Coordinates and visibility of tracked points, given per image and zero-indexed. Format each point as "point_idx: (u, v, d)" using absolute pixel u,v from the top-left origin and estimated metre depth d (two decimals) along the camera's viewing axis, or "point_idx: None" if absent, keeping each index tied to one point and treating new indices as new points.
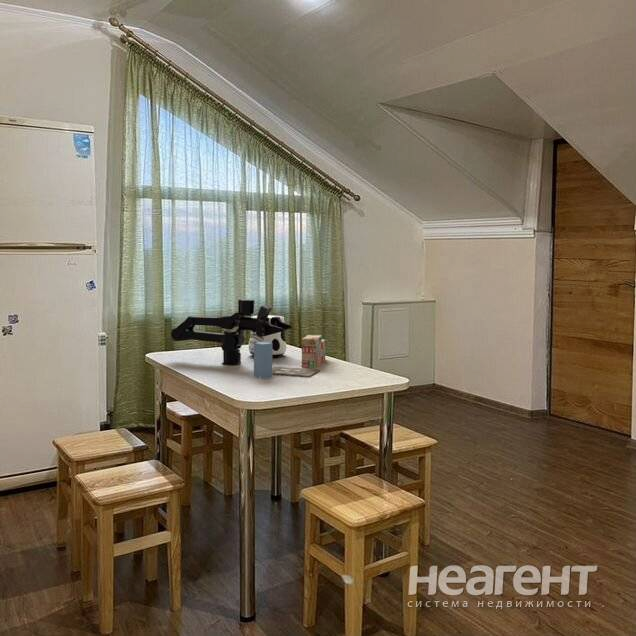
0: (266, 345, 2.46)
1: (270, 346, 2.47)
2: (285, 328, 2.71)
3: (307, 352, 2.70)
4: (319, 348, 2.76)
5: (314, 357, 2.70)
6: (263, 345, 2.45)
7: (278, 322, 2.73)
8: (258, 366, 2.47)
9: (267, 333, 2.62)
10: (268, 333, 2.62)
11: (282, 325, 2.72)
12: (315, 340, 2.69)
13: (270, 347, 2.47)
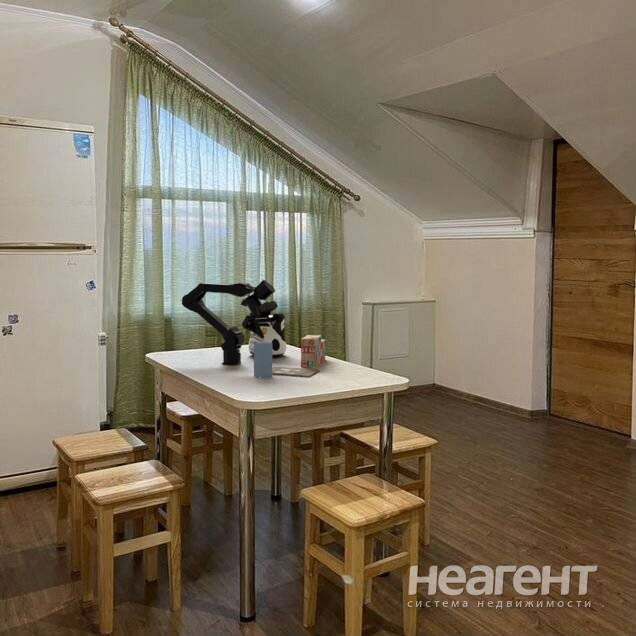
0: (266, 345, 2.46)
1: (270, 346, 2.47)
2: (277, 332, 2.67)
3: (307, 352, 2.70)
4: (318, 348, 2.76)
5: (313, 357, 2.70)
6: (263, 345, 2.45)
7: (276, 322, 2.67)
8: (258, 366, 2.47)
9: (251, 329, 2.61)
10: (252, 329, 2.61)
11: (277, 327, 2.67)
12: (314, 340, 2.69)
13: (270, 347, 2.47)
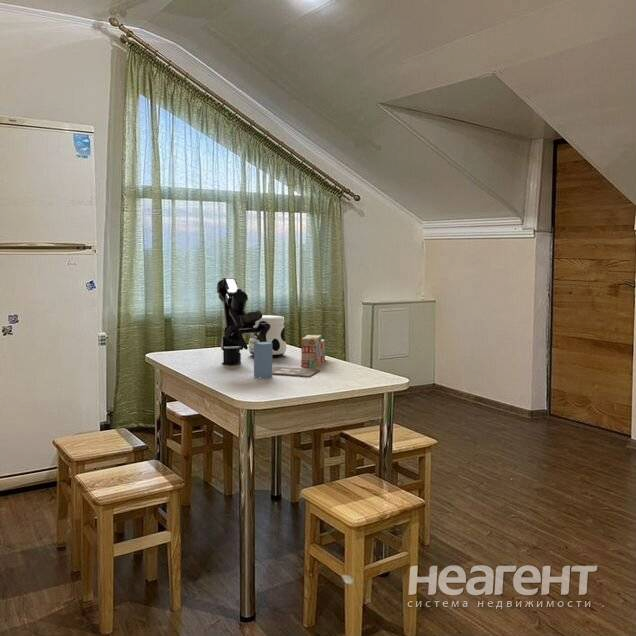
0: (266, 345, 2.46)
1: (270, 346, 2.47)
2: None
3: (307, 351, 2.70)
4: (319, 348, 2.76)
5: (314, 357, 2.70)
6: (263, 345, 2.45)
7: (261, 332, 2.56)
8: (258, 366, 2.47)
9: (234, 340, 2.50)
10: (235, 341, 2.50)
11: (262, 338, 2.56)
12: (315, 340, 2.69)
13: (270, 347, 2.47)
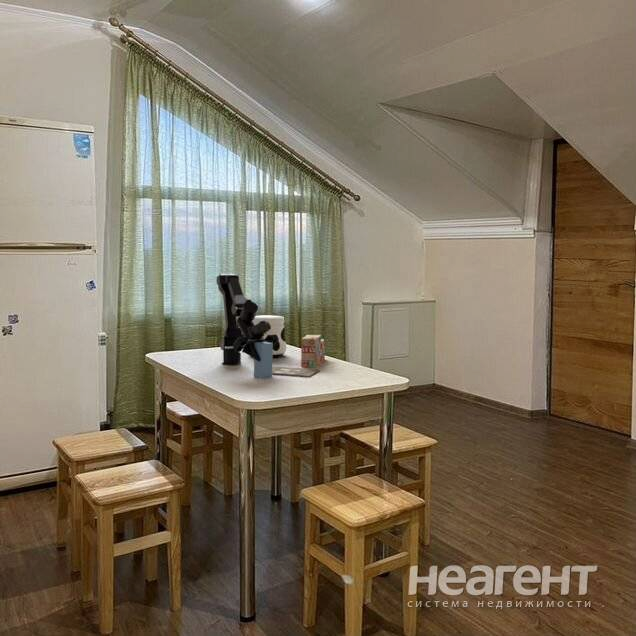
0: (266, 345, 2.46)
1: (270, 346, 2.47)
2: None
3: (307, 351, 2.71)
4: (318, 348, 2.77)
5: (314, 357, 2.70)
6: (263, 345, 2.45)
7: None
8: (259, 366, 2.47)
9: (246, 351, 2.48)
10: (247, 352, 2.48)
11: None
12: (315, 340, 2.70)
13: (270, 347, 2.47)
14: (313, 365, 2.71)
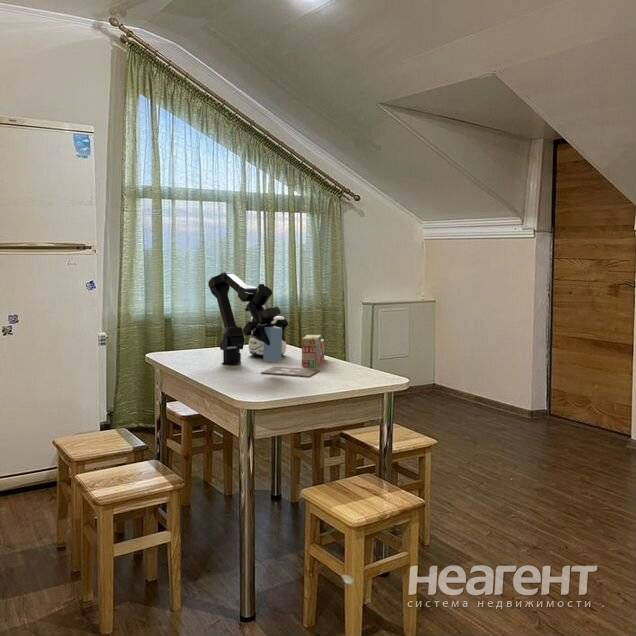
0: (276, 329, 2.48)
1: (280, 331, 2.50)
2: None
3: (307, 351, 2.71)
4: (319, 348, 2.77)
5: (314, 357, 2.71)
6: (273, 329, 2.48)
7: None
8: (268, 350, 2.49)
9: (256, 335, 2.51)
10: (257, 336, 2.51)
11: None
12: (315, 340, 2.70)
13: (280, 332, 2.50)
14: (314, 365, 2.71)
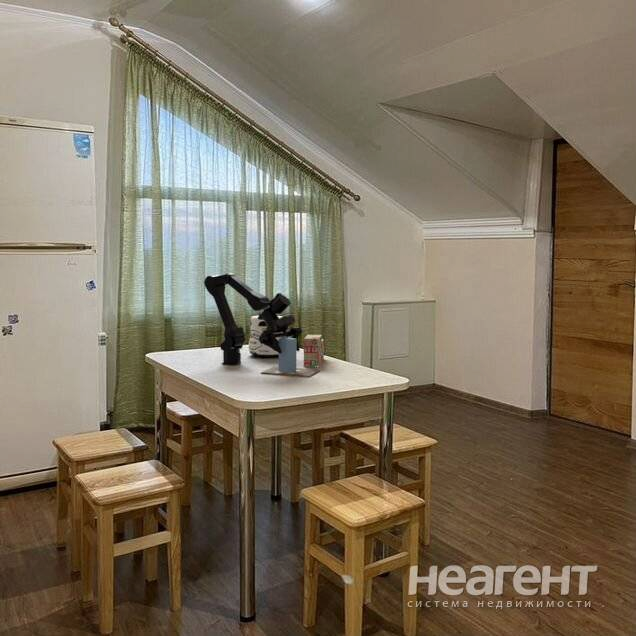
0: (291, 340, 2.54)
1: (294, 341, 2.56)
2: None
3: (309, 351, 2.71)
4: (320, 348, 2.77)
5: (316, 357, 2.71)
6: (288, 340, 2.53)
7: (294, 336, 2.61)
8: (283, 361, 2.55)
9: (268, 344, 2.55)
10: (269, 344, 2.55)
11: None
12: (317, 340, 2.70)
13: (294, 342, 2.56)
14: (316, 365, 2.71)
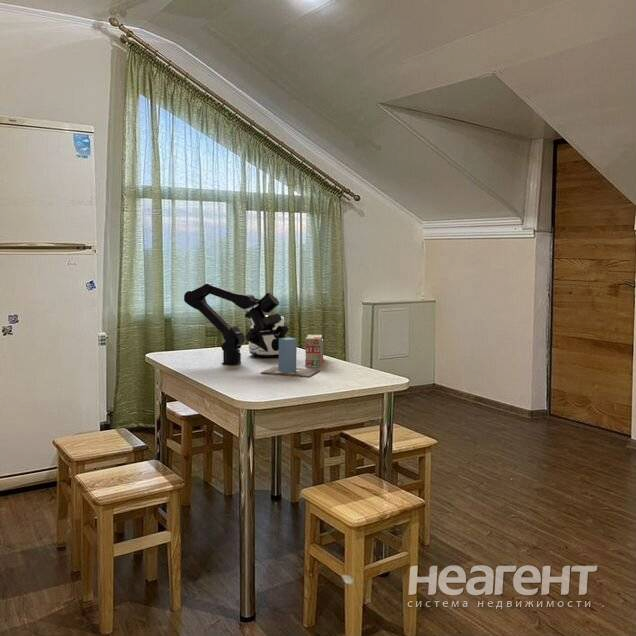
0: (291, 340, 2.54)
1: (294, 341, 2.56)
2: None
3: (311, 351, 2.71)
4: (321, 347, 2.78)
5: (318, 356, 2.71)
6: (288, 340, 2.53)
7: (280, 335, 2.67)
8: (283, 361, 2.55)
9: (255, 342, 2.61)
10: (255, 342, 2.61)
11: None
12: (319, 340, 2.70)
13: (294, 342, 2.56)
14: (317, 365, 2.72)
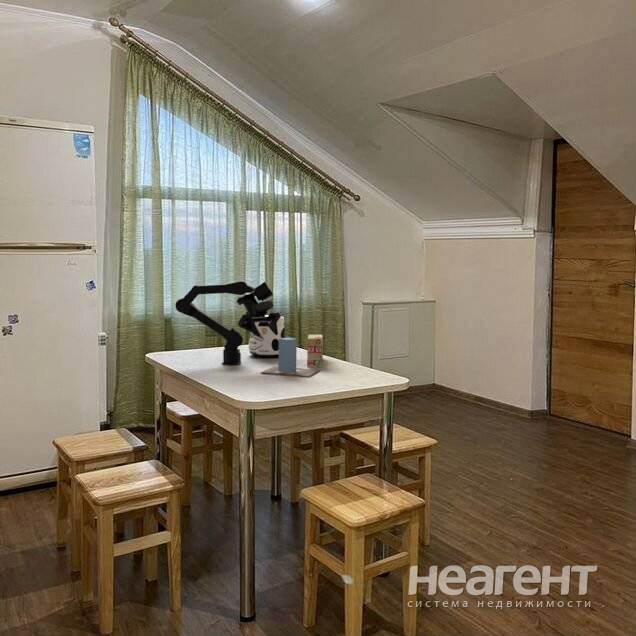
0: (291, 340, 2.54)
1: (294, 341, 2.56)
2: (273, 331, 2.70)
3: (313, 351, 2.71)
4: (322, 347, 2.78)
5: (320, 356, 2.72)
6: (288, 340, 2.53)
7: (272, 321, 2.71)
8: (283, 361, 2.55)
9: (247, 328, 2.65)
10: (248, 328, 2.65)
11: (273, 326, 2.71)
12: (321, 339, 2.71)
13: (294, 342, 2.56)
14: (319, 365, 2.72)
